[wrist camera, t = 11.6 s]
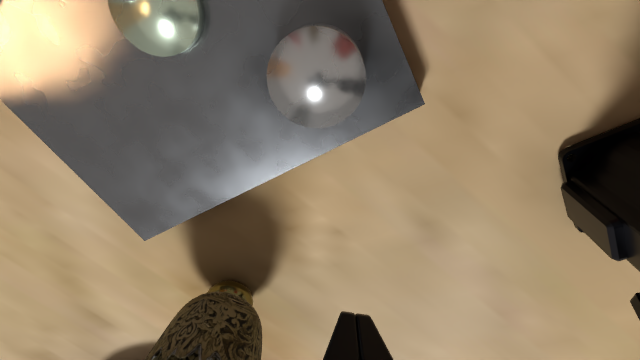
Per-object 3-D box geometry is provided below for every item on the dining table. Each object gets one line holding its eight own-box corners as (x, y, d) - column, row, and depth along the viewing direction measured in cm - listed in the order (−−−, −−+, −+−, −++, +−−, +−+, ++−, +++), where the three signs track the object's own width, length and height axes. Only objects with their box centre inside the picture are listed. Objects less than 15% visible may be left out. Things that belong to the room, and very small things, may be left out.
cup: (174, 260, 25) (111, 361, 18) (267, 255, 24) (238, 359, 17) (202, 323, 29) (159, 427, 22) (284, 320, 28) (266, 428, 21)
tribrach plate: (175, -488, 10) (100, -705, 7) (418, 96, 18) (434, 116, 15) (-138, -72, 15) (-255, -89, 12) (155, 227, 24) (128, 261, 21)
